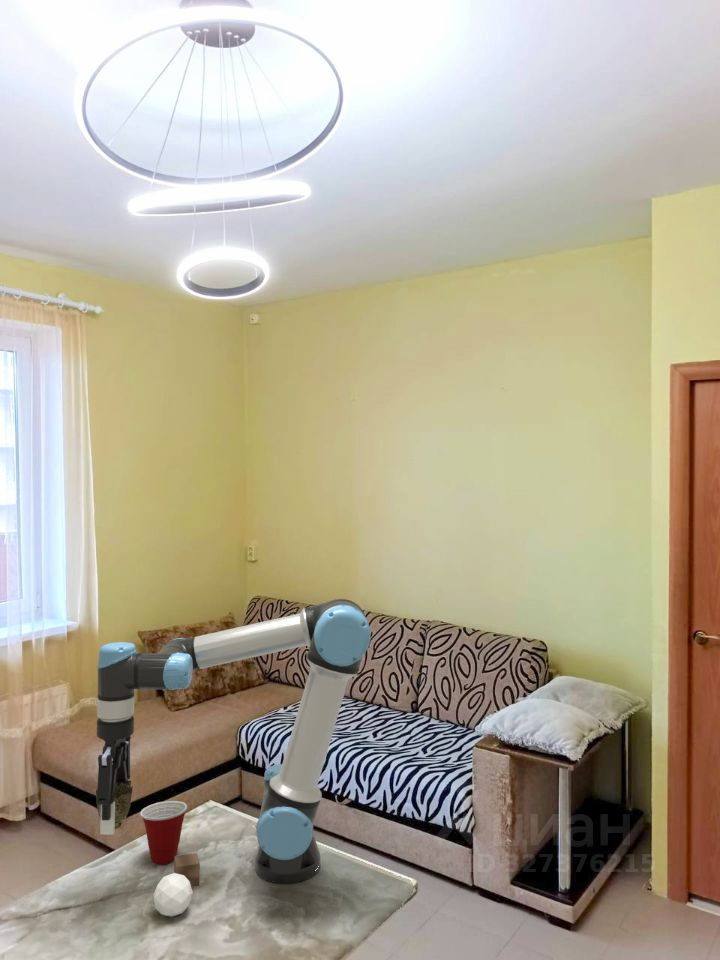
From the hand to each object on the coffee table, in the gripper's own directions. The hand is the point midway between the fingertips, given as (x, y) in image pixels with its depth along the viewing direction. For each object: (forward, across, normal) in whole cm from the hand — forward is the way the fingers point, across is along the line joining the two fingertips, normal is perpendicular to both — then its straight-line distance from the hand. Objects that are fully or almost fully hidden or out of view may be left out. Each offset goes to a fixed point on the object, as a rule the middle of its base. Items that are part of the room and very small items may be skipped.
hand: (113, 825), depth 152 cm
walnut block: (+16, -8, +14) cm, 23 cm away
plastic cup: (+16, -18, +6) cm, 25 cm away
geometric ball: (+16, +4, +14) cm, 22 cm away
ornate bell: (+1, 0, 0) cm, 1 cm away
